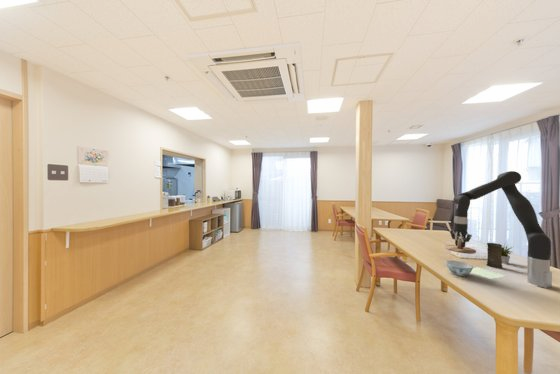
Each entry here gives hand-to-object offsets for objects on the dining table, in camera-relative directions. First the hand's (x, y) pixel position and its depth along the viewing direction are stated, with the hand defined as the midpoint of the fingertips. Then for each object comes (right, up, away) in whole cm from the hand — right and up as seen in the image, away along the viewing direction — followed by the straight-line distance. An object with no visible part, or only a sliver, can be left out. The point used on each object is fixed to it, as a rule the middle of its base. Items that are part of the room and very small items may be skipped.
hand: (460, 246), depth 154 cm
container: (+38, -20, +13) cm, 45 cm away
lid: (0, -3, 0) cm, 3 cm away
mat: (+18, -20, +1) cm, 27 cm away
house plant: (+54, -20, +23) cm, 62 cm away
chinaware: (-2, -20, -1) cm, 20 cm away
